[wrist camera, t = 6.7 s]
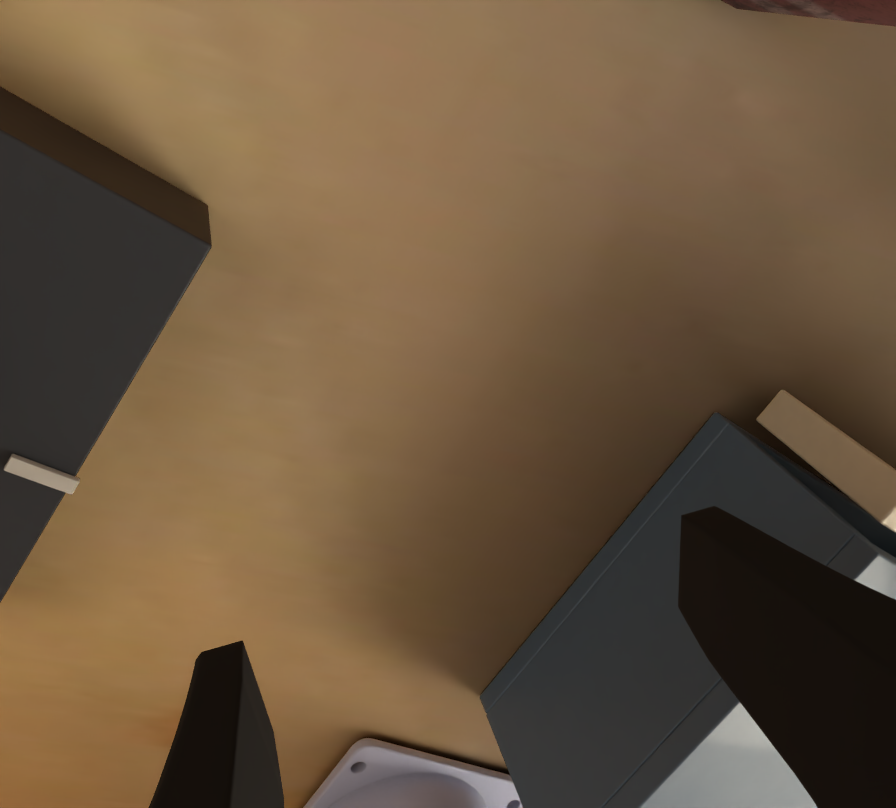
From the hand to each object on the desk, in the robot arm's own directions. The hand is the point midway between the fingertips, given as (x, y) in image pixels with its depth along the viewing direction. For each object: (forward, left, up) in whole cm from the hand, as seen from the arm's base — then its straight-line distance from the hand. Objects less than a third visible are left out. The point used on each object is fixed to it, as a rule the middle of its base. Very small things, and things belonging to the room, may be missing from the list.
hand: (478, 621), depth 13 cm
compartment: (-2, -16, -10) cm, 19 cm away
